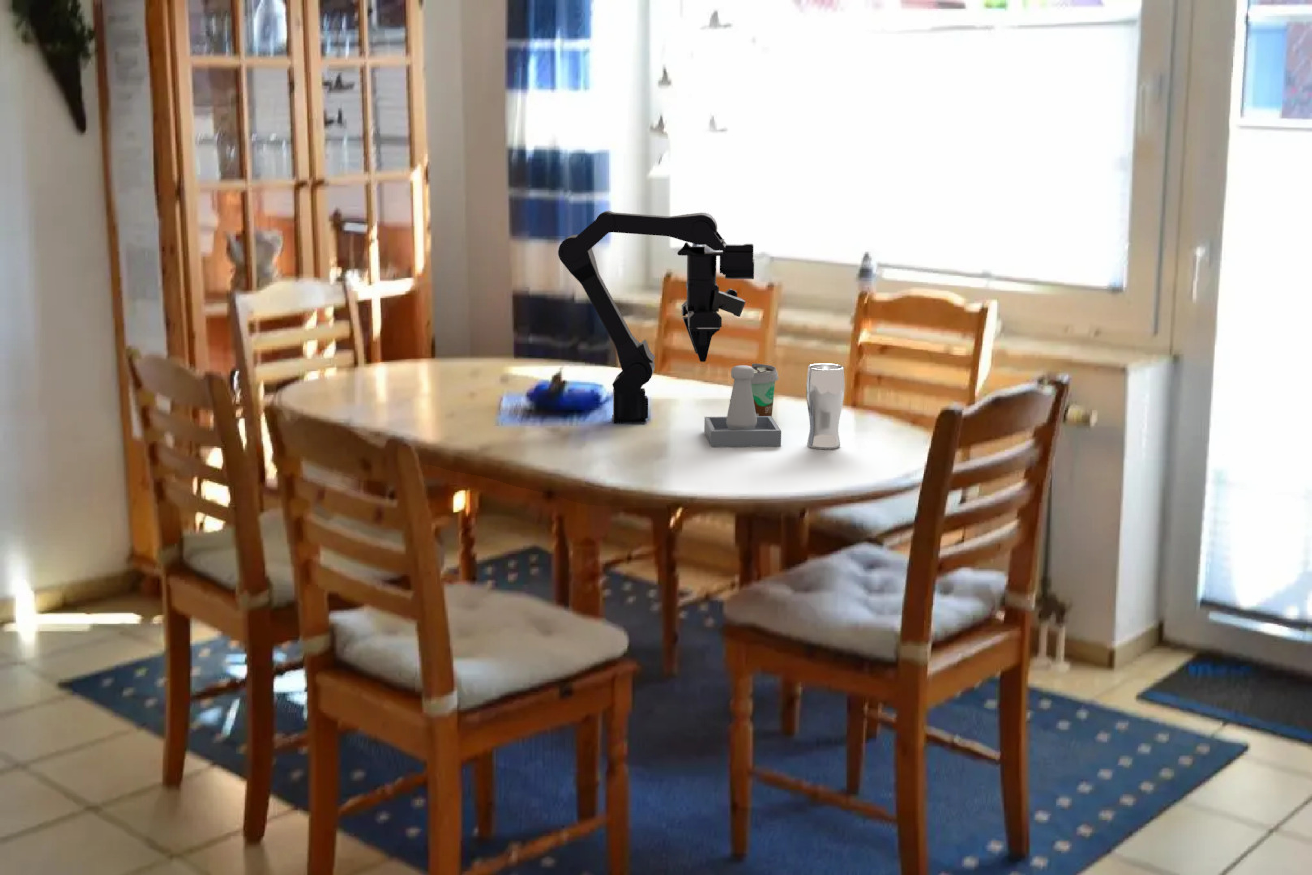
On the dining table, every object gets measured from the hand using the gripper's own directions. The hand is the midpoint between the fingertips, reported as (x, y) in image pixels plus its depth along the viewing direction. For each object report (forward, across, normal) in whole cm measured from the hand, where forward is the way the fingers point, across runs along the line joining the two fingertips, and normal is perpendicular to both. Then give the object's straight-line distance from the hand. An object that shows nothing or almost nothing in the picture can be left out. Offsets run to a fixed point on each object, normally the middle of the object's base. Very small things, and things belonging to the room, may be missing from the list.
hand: (700, 357), depth 308 cm
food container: (+13, +4, -13) cm, 19 cm away
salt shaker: (+12, -16, -6) cm, 21 cm away
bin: (+13, -16, -6) cm, 21 cm away
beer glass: (+13, -22, -21) cm, 33 cm away
